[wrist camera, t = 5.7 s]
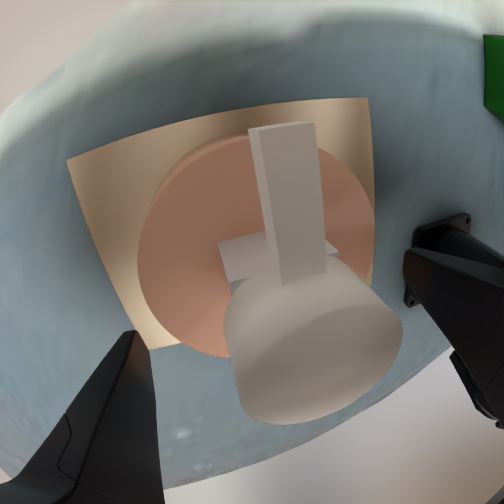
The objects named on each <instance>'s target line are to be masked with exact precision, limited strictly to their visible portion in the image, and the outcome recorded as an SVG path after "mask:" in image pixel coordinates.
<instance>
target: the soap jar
mask: <svg viewBox="0 0 504 504" xmlns="http://www.w3.org/2000/svg"><path fill="white" fill-rule="evenodd" d="M318 156H319V165H320V175H321V185H322V197H323V209H324V224H325V240H326V254H328V255H331V256H334V257H336V258H338V259H340V260H342V261H343V262H344V263H345V264H347V265H348V266H349V267H350V268H351V269H352V270H353V271H354V272H355V273H356V274H357V275H358V276H359V277H360V278H361V279H362V280H363V281H364V282H365V280H366V278H367V275H368V272H369V269H370V266H371V263H372V259H373V254H374V247H375V222H374V216H373V211H372V208H371V205H370V202H369V199H368V197H367V195H366V193H365V190H364V188H363V187H362V185H361V184H360V182H359V181H358V179H357V178H356V176H355V175H354V174H353V173H352V172H351V171H350V170H349V169H348V168H347V166H346V165H345V164H343V163H342V162H341V161H340V160H338V159H337V158H336V157H334V156H333V155H332V154H330V153H328V152H326V151H324V150H322V149H321V148H319V147H318ZM268 263H270V256H269V250H268V243H267V237H266V231H265V225H264V219H263V213H262V207H261V201H260V196H259V190H258V184H257V178H256V172H255V167H254V161H253V155H252V150H251V144H250V139H249V133H237V134H229V135H225V136H222V137H218V138H215V139H212V140H210V141H208V142H205V143H203V144H201V145H199V146H198V147H196V148H194V149H193V150H191V151H190V152H188V153H187V154H186V155H185V156H183V157H182V158H181V159H180V160H179V161H177V163H176V164H175V165H174V166H173V167H172V168H171V169H170V170H169V171H168V173H167V174H166V176H165V177H164V179H163V180H162V182H161V183H160V185H159V187H158V189H157V191H156V193H155V195H154V198H153V201H152V203H151V206H150V209H149V211H148V214H147V217H146V220H145V223H144V226H143V229H142V233H141V236H140V240H139V247H138V255H137V265H138V277H139V282H140V287H141V290H142V293H143V296H144V298H145V301H146V303H147V305H148V307H149V308H150V310H151V312H152V314H153V315H154V317H155V318H156V319H157V320H158V322H159V323H160V324H161V325H162V326H163V327H164V328H165V329H166V330H167V331H168V332H169V333H170V334H171V335H172V336H174V337H175V338H176V339H178V340H179V341H180V342H182V343H184V344H186V345H187V346H189V347H191V348H193V349H196V350H198V351H201V352H203V353H206V354H210V355H213V356H217V357H224V358H229V354H228V350H227V345H226V341H225V337H224V332H223V320H224V314H225V311H226V308H227V305H228V303H229V301H230V299H231V298H232V296H233V294H234V293H235V291H236V290H237V289H238V288H239V287H240V285H241V284H242V283H243V282H244V281H245V280H246V279H247V278H248V277H249V276H251V275H252V274H253V273H254V272H256V271H257V270H258V269H260V268H262V267H263V266H265V265H267V264H268Z"/></svg>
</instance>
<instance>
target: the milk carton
mask: <svg viewBox="0 0 504 504" xmlns="http://www.w3.org/2000/svg"><path fill="white" fill-rule="evenodd" d="M484 43H485V103H484V106H485V107H487V108H488V109H489V110H490V111H491V112H492V113H493V114H495V115H496V116H497V117H498V118H499V119H500V120H501V121H502V122H503V123H504V36H499V35H487V34H484Z"/></svg>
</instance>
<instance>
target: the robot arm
mask: <svg viewBox="0 0 504 504" xmlns="http://www.w3.org/2000/svg"><path fill="white" fill-rule="evenodd" d="M470 223H471V216H470V215H469V214H467V213H464V214H461V215H458V216H455V217H452V218H449V219H446V220H443V221H440V222H437V223H434V224H431V225H427V226H424V227H421V228H419V229H418V230H417V231H416V232H415V235H414V242H413V248H411V249H408V250H406V251H405V253H404V260H403V268H402V273H403V276H404V278H405V279H406V281H407V282H408V285H407V291H406V297H405V305H406V306H407V307H408V308H411V307H413V306H415V305H417V304H419V303H420V304H422V305H423V307H424V308H425V310H426V311H427V312H428V314H429V315H430V316H431V318H432V319H433V320H434V322H435V323H436V324H437V325H438V327H439V328H440V330H441V331H442V332H443V334H444V335H445V336H446V338H447V339H448V341H449V342H450V343H451V345H452V346H453V348H454V349H455V350H454V351H453V352H452V354H451V355H450V357H449V358H450V360H451V362H452V363H453V365H454V367H455V369H456V371H457V373H458V375H459V376H460V378H461V380H462V382H463V384H464V386H465V388H466V390H467V392H468V394H469V395H470V397H471V400H472V402H473V404H474V405H475V408H476V409H477V410H478V411H480V412H481V413H482V414H483V415H484V416H486V417H487V418H490V419H493V420H497V422H496V423H495V425H496V427H497V428H500V429H504V256H503V255H502V254H500V253H499V252H497V251H496V250H494V249H492V248H491V247H489V246H488V245H486V244H484V243H483V242H481V241H480V240H478V239H476V238H475V237H473V236H471V235H470V234H469V229H470ZM0 504H165V500H164V493H163V485H162V477H161V469H160V459H159V448H158V435H157V419H156V400H155V391H154V384H153V377H152V369H151V361H150V353H149V350H148V348H147V346H146V344H145V343H144V341H143V339H142V337H141V335H140V334H139V332H138V331H137V330H130V331H126V332H124V333H123V334H122V335H121V336H120V338H119V339H118V340H117V341H116V343H115V344H114V345H113V347H112V348H111V349H110V351H109V352H108V353H107V355H106V356H105V357H104V359H103V360H102V361H101V363H100V364H99V365H98V367H97V368H96V369H95V371H94V372H93V374H92V375H91V376H90V378H89V379H88V380H87V382H86V383H85V385H84V386H83V387H82V389H81V390H80V392H79V393H78V394H77V396H76V397H75V399H74V400H73V401H72V403H71V404H70V406H69V407H68V409H67V410H66V414H65V413H64V414H63V416H62V417H61V419H60V420H59V422H58V423H57V425H56V426H55V427H54V429H53V430H52V432H51V433H50V435H49V436H48V437H47V438H46V440H45V441H44V442H43V444H42V445H41V446H40V448H39V449H38V450H37V451H36V453H35V454H34V455H33V457H32V458H31V459H30V460H29V462H28V463H27V464H26V466H25V467H24V468H23V470H22V471H21V472H20V473H19V474H18V475H17V476H16V477H15V478H13V479H12V480H10V481H8V482H5V483H2V484H0ZM486 504H504V486H503V487H502V488H501V489H500V490H499V491H498V492H497V493H496V494H495V495H494V496H493V497H492V498H491V499H490V500H489V501H488V502H487V503H486Z"/></svg>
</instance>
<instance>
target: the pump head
mask: <svg viewBox="0 0 504 504" xmlns="http://www.w3.org/2000/svg"><path fill="white" fill-rule="evenodd" d="M248 133H249V139H250V144H251V150H252V155H253V161H254V167H255V172H256V178H257V184H258V190H259V196H260V201H261V207H262V213H263V219H264V225H265V231H266V237H267V243H268V250H269V256H270V263H268V264H267V265H265V266H263V267H262V268H260V269H258V270H257V271H256V272H254V273H253V274H252V275H251V276H249V277H248V278H247V279H246V280H245V281H244V282H243V283H242V284H241V285H240V287H239V288H238V289H237V290H236V291H235V293H234V294H233V296H232V298H231V299H230V301H229V303H228V305H227V308H226V311H225V314H224V320H223V332H224V337H225V341H226V345H227V350H228V354H229V358H230V362H231V366H232V370H233V374H234V378H235V382H236V386H237V390H238V394H239V398H240V401H241V405H242V407H243V408H244V410H245V411H246V412H247V413H248V414H249V415H250V416H251V417H253V418H255V419H257V420H259V421H262V422H265V423H270V424H282V425H284V424H296V423H303V422H307V421H311V420H315V419H318V418H321V417H324V416H327V415H329V414H331V413H334V412H336V411H338V410H340V409H342V408H344V407H345V406H347V405H349V404H351V403H352V402H354V401H355V400H357V399H358V398H360V397H361V396H362V395H363V394H365V393H366V392H367V391H368V390H370V389H371V388H372V387H373V386H374V385H375V384H376V383H377V382H378V381H379V380H380V379H381V378H382V377H383V375H384V374H385V373H386V372H387V370H388V369H389V368H390V366H391V365H392V363H393V362H394V360H395V358H396V356H397V354H398V352H399V349H400V346H401V342H402V335H403V330H402V324H401V322H400V319H399V318H398V316H397V315H396V314H395V313H394V312H393V311H392V310H391V309H390V308H389V307H388V305H387V304H386V303H385V302H384V301H383V300H382V299H381V298H380V297H379V296H378V295H377V294H376V293H375V292H374V291H373V290H372V289H371V288H370V287H369V286H368V285H367V284H366V283H365V282H364V281H363V280H362V279H361V278H360V277H359V276H358V275H357V274H356V273H355V272H354V271H353V270H352V269H351V268H350V267H349V266H348V265H347V264H345V263H344V262H343V261H342V260H340V259H338V258H336V257H334V256H331V255H328V254H326V240H325V224H324V209H323V197H322V185H321V175H320V165H319V156H318V147H317V139H316V131H315V124H314V122H298V121H297V122H289V123H282V124H275V125H269V126H262V127H256V128H251V129H248Z"/></svg>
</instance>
